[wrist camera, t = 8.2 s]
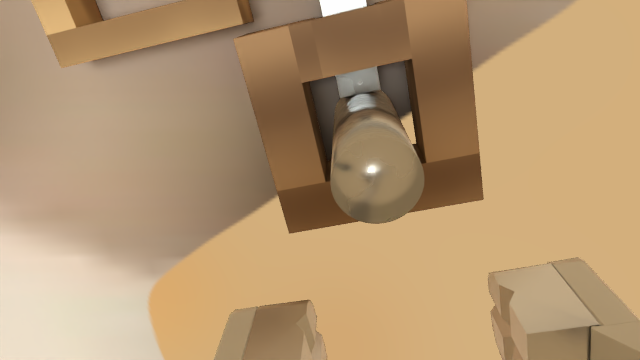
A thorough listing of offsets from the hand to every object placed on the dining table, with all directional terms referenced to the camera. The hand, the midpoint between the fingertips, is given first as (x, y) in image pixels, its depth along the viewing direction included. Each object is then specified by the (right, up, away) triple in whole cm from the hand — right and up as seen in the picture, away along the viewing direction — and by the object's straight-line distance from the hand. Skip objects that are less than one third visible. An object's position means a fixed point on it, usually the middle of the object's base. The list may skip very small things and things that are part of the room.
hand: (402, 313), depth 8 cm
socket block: (+1, +6, +15) cm, 16 cm away
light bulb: (+1, +6, +15) cm, 16 cm away
